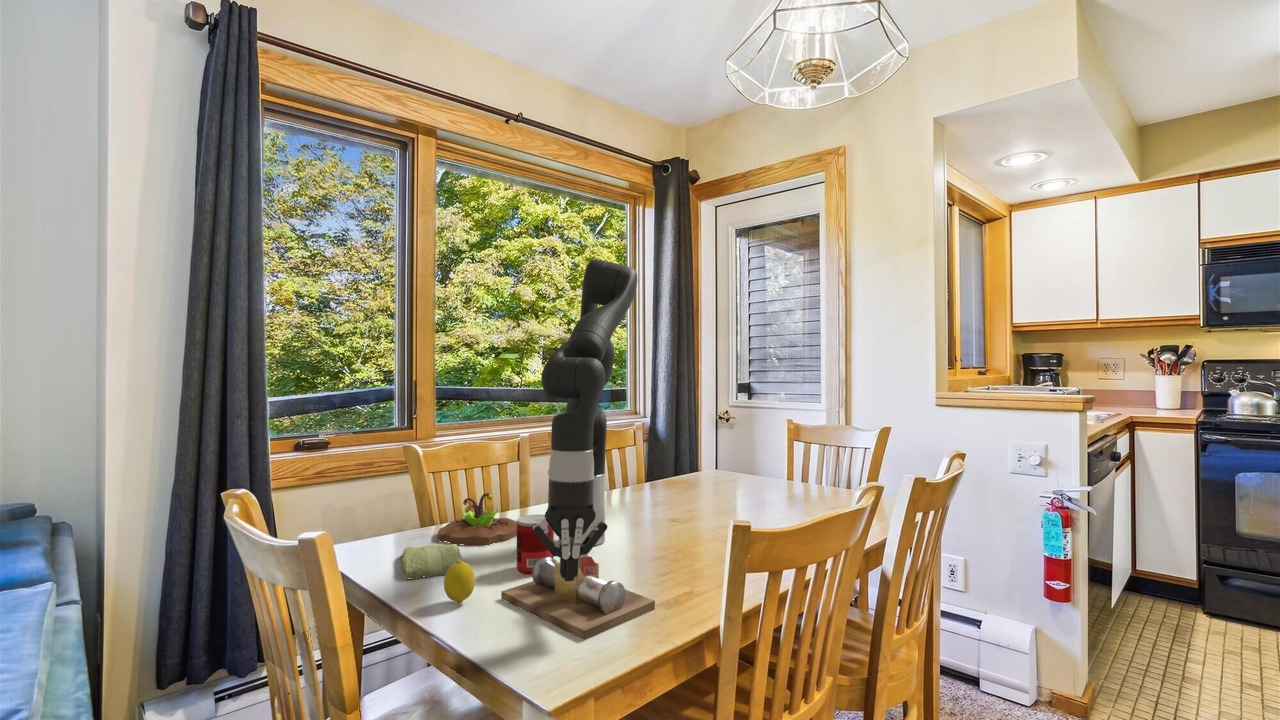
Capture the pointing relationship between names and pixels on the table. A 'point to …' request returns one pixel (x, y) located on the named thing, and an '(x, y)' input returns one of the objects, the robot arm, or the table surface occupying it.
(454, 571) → the lemon
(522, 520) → the canned food
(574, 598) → the valve body
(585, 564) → the valve lever
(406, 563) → the washcloth
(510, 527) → the plant
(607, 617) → the walnut board
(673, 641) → the table surface
